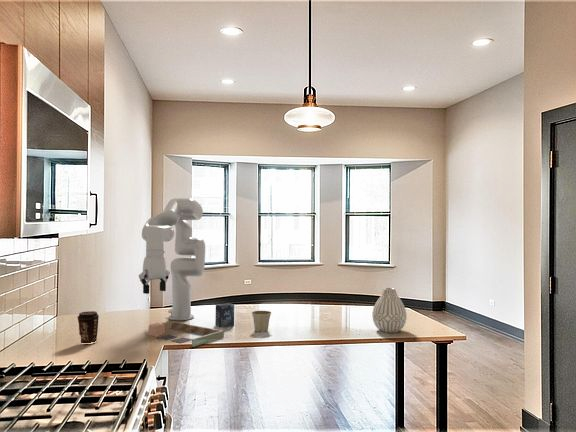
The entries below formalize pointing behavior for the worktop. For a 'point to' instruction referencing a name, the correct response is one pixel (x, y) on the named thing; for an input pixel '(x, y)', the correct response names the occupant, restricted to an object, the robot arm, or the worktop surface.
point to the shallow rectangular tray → (208, 332)
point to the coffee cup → (88, 326)
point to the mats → (175, 339)
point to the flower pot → (261, 320)
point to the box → (224, 315)
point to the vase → (389, 312)
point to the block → (156, 329)
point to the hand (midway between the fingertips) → (154, 292)
